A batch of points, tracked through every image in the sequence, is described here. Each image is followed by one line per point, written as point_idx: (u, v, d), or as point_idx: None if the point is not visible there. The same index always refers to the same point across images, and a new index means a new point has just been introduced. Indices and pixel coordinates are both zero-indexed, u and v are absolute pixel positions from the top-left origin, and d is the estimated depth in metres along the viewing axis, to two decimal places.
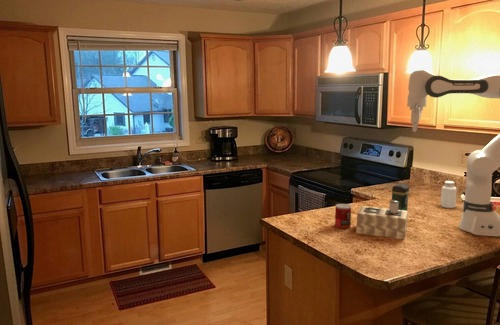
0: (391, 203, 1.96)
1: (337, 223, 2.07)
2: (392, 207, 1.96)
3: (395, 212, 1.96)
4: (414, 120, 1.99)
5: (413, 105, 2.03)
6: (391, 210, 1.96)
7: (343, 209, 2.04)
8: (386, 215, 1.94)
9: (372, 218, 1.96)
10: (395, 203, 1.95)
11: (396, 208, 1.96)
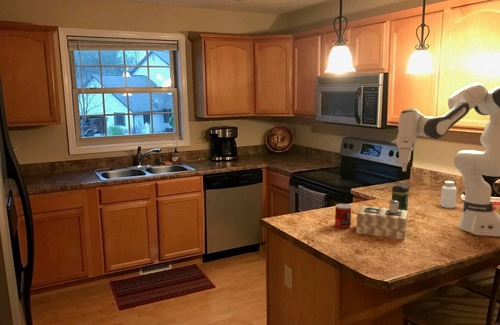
0: (391, 203, 1.96)
1: (337, 223, 2.07)
2: (392, 207, 1.96)
3: (395, 212, 1.96)
4: None
5: None
6: (391, 210, 1.96)
7: (343, 209, 2.04)
8: (386, 215, 1.94)
9: (372, 218, 1.96)
10: (395, 203, 1.95)
11: (396, 208, 1.96)
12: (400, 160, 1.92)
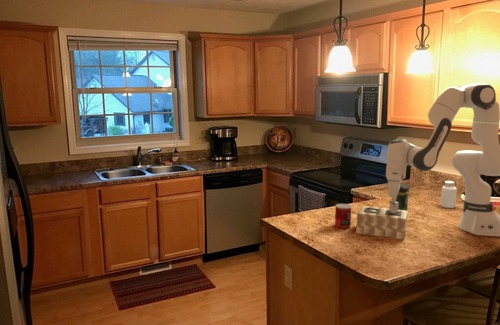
0: (391, 204, 1.96)
1: (337, 223, 2.07)
2: (392, 208, 1.96)
3: (395, 213, 1.96)
4: None
5: None
6: (391, 211, 1.97)
7: (343, 209, 2.04)
8: (386, 215, 1.94)
9: (372, 218, 1.96)
10: (395, 204, 1.95)
11: (396, 209, 1.96)
12: (389, 193, 1.87)
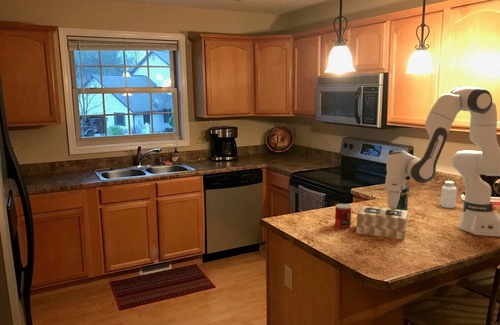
0: None
1: (337, 223, 2.07)
2: None
3: None
4: None
5: None
6: None
7: (343, 209, 2.04)
8: (386, 215, 1.94)
9: (372, 218, 1.96)
10: None
11: None
12: (389, 204, 1.88)
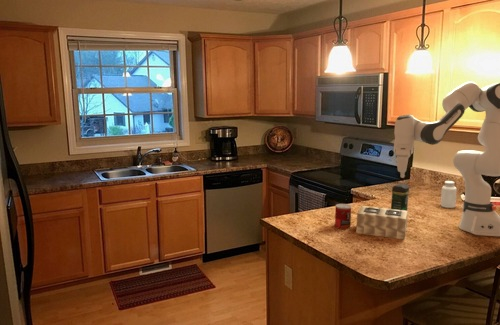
0: None
1: (337, 223, 2.07)
2: None
3: None
4: None
5: None
6: None
7: (343, 209, 2.04)
8: (386, 215, 1.94)
9: (372, 218, 1.96)
10: None
11: None
12: (398, 168, 1.91)
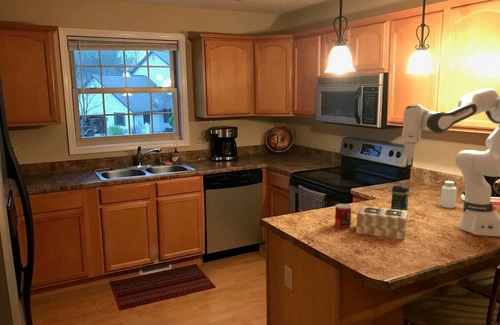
0: None
1: (337, 223, 2.07)
2: None
3: None
4: None
5: None
6: None
7: (343, 209, 2.04)
8: (386, 215, 1.94)
9: (372, 218, 1.96)
10: None
11: None
12: (406, 154, 1.99)
